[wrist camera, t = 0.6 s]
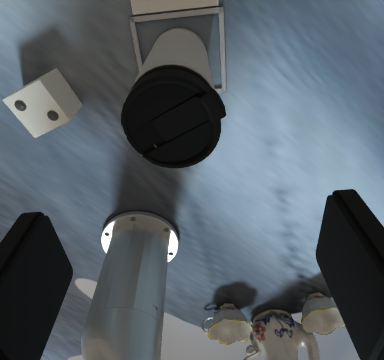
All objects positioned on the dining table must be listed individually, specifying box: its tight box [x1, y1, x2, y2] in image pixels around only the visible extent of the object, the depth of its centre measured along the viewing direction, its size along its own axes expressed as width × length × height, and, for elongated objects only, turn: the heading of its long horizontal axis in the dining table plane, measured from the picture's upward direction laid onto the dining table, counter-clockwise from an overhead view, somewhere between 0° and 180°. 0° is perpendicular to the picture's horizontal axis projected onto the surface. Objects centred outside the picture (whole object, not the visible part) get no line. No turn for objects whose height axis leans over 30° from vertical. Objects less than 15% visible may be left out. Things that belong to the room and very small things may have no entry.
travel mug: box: [121, 27, 226, 168], centre depth 26 cm, size 6×7×20 cm
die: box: [3, 68, 83, 138], centre depth 35 cm, size 5×5×5 cm
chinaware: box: [202, 292, 345, 360], centre depth 56 cm, size 28×17×17 cm, turn 106°
